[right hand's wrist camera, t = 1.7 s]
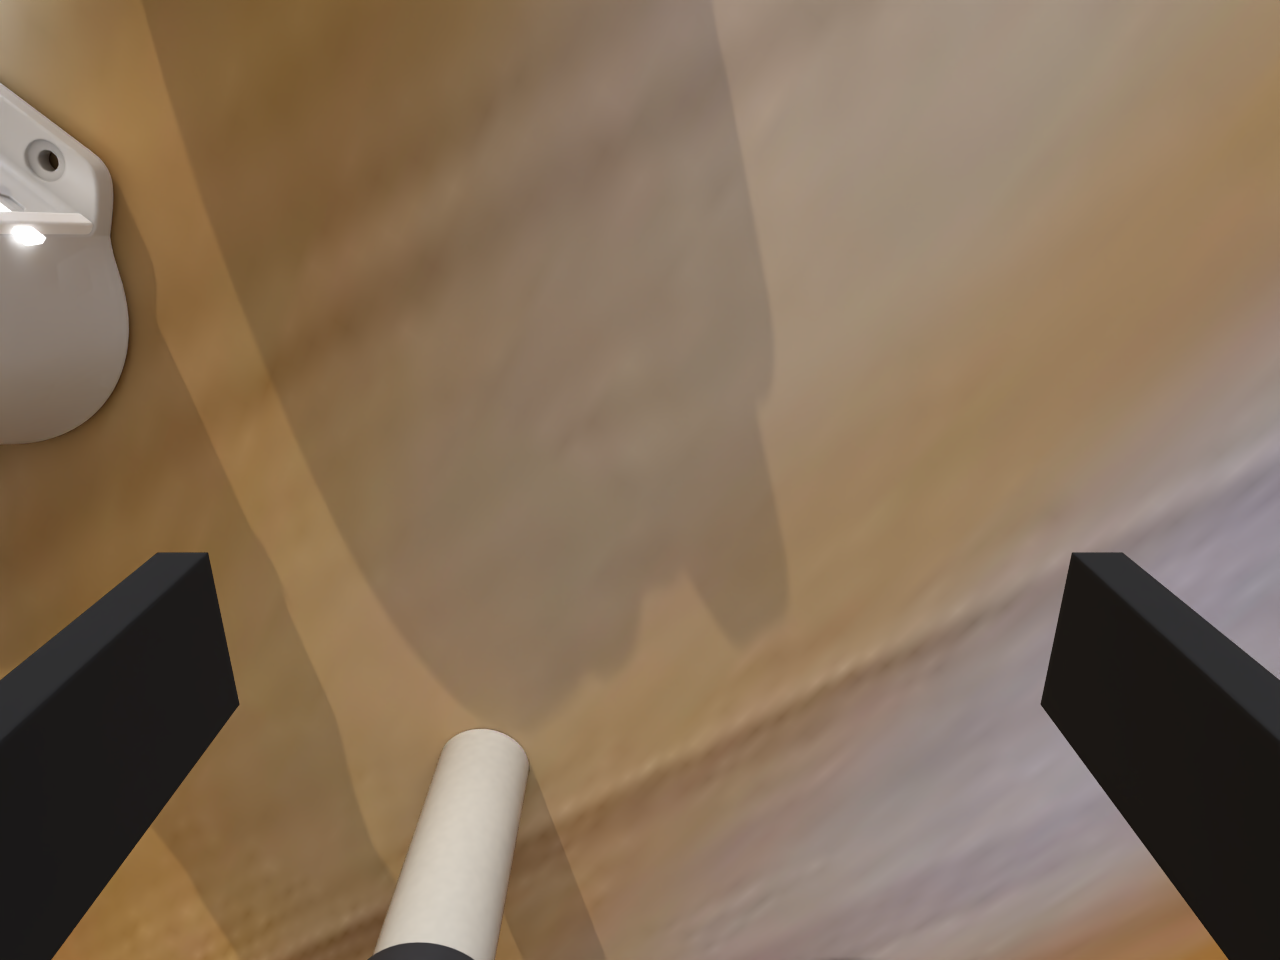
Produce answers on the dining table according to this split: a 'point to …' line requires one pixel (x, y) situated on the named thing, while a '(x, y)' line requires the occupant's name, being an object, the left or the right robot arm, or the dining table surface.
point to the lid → (420, 952)
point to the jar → (462, 848)
